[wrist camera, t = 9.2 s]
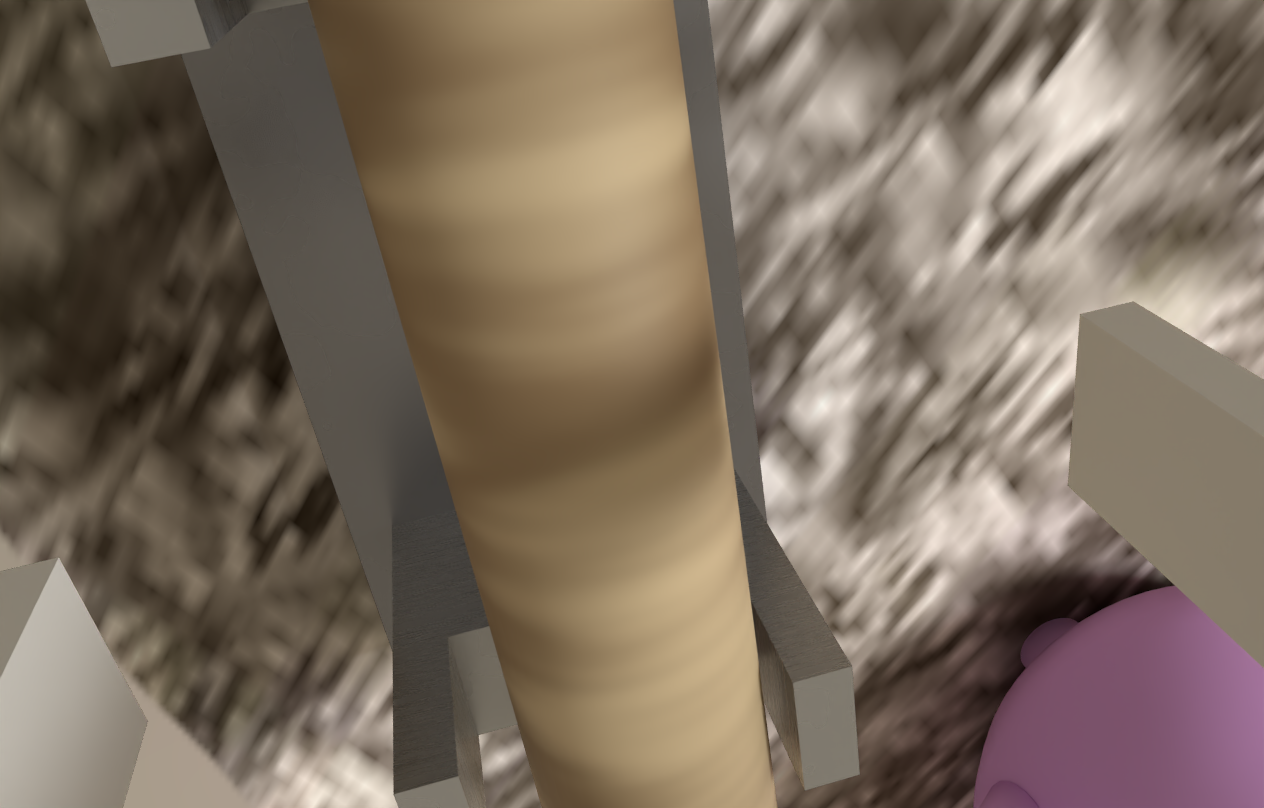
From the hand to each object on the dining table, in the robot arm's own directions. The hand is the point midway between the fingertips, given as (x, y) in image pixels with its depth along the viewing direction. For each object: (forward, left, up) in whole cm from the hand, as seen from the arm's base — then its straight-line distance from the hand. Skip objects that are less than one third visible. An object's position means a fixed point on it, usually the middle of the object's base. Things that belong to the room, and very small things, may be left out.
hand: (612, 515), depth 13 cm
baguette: (+1, -1, -7) cm, 7 cm away
